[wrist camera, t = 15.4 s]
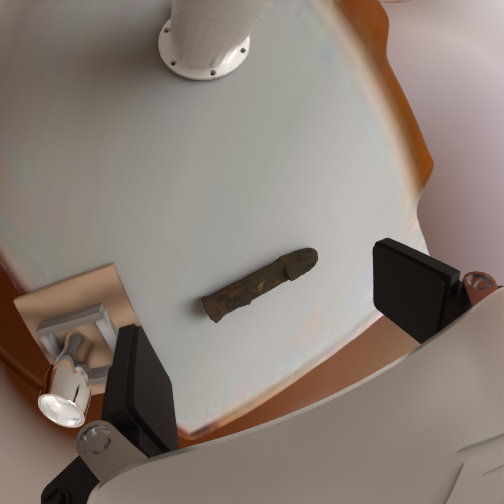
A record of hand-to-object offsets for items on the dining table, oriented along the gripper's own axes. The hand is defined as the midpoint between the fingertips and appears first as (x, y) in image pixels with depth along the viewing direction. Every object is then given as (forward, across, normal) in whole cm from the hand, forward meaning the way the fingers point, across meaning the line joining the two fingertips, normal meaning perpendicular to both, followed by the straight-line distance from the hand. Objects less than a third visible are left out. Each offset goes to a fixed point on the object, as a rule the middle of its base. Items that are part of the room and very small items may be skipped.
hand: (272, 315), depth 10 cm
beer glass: (+29, +25, +16) cm, 42 cm away
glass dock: (+30, +24, +16) cm, 42 cm away
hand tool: (+31, -6, +14) cm, 34 cm away
